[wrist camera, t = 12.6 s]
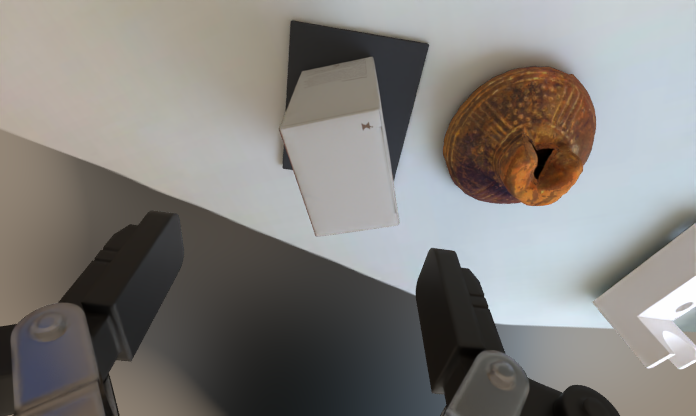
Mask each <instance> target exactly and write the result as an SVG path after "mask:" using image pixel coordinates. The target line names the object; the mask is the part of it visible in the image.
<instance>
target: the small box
mask: <svg viewBox="0 0 696 416" xmlns="http://www.w3.org/2000/svg"><path fill="white" fill-rule="evenodd" d="M279 131H280V133H281V136H282V139H283V142H284V145H285V148H286V151H287V154H288V157H289V159H290V162H291V165H292V168H293V171H294V174H295V177H296V180H297V183H298V186H299V189H300V192H301V195H302V197H303V200H304V203H305V206H306V209H307V212H308V215H309V218H310V221H311V224H312V227H313V230H314V232H315V236H317V237H318V236H327V235H334V234H341V233H348V232H355V231H362V230H369V229H376V228H383V227H391V226H397V225H399V223H400V221H399V215H398V208H397V202H396V195H395V189H394V182H393V176H392V169H391V162H390V155H389V149H388V143H387V137H386V131H385V125H384V120H383V113H382V107H381V100H380V94H379V87H378V81H377V75H376V70H375V64H374V59H373V57H368V58H364V59H359V60H354V61H349V62H344V63H339V64H335V65H330V66H325V67H320V68H316V69H311V70H306V71H302V72H301V75H300V77H299V80H298V82H297V85H296V87H295V90H294V93H293V95H292V97H291V100H290V103H289V105H288V108H287V110H286V113H285V116H284V118H283V121H282V123H281V126H280V128H279Z"/></svg>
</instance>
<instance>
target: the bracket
mask: <svg viewBox="0 0 696 416" xmlns="http://www.w3.org/2000/svg"><path fill="white" fill-rule="evenodd" d="M593 304H594V305H595V306H596V307H597V308H598V310H599V311H600V312H601V313H602V315H603V316H604V317H605V318H606V319H607V321H608V322H609V323H610V324H611V326H612V327H613V328H614V329H615V330H616V332H617V333H618V334H619V335H620V337H621V338H622V339H623V340H624V341H625V343H626V344H627V345H628V346H629V348H630V349H631V350H632V351H633V353H634V354H635V355H636V356H637V357H638V359H639V360H640V361H641V362H642V363H643V365H644V366H645V367H646V368H652V367H654V366H656V365H658V364H659V363H661V362H663V361H665V360H666V359H669V360H670V361H671V362H672V363H673V364H674V365H675V366H676V367H677V368H678V369H683V368H685V367H687V366H689V365H691V364H693V363H694V362H696V346H695V344H694V343H693V342H692V341H691V340H690V339H689V338H688V337H687V336H686V335H685V334H684V333H683V332H682V331H681V330H680V329H679V328H678V327H677V325H676V324H675V323H674V322H673V320H675V319H677V318H678V317H680V316H681V315H683V314H684V313H686V312H688V311H689V310H691V309H692V308H694V307H695V306H696V223H695V224H694V225H692V226H691V227H690V228H688V229H687V230H686V231H684V232H683V233H682V234H680V235H679V236H678V237H677V238H675V239H674V240H673V241H671V242H670V243H669V244H667V245H666V246H665V247H663V248H662V249H661V250H660V251H658V252H657V253H656V254H654V255H653V256H652V257H650V258H649V259H648V260H646V261H645V262H644V263H643V264H641V265H640V266H639V267H637V268H636V269H635V270H633V271H632V272H631V273H630V274H628V275H627V276H626V277H624V278H623V279H622V280H620V281H619V282H618V283H616V284H615V285H614V286H613V287H611V288H610V289H609V290H607V291H606V292H605V293H603V294H602V295H601V296H599V297H598V298H597V299H596V300H594V301H593Z"/></svg>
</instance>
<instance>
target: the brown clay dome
mask: <svg viewBox="0 0 696 416" xmlns="http://www.w3.org/2000/svg"><path fill="white" fill-rule="evenodd" d="M595 130H596V116H595V109H594V106H593V104H592V101H591V99H590V96H589V94H588V92H587V90H586V89H585V88H584V86H583V85H582V84H581V83H580V81H579V80H578V79H577V78H576V77H575V76H574V75H573V74H566V73H564V72H562V71H559V70H557V69H554V68H551V67H526V68H518V69H513V70H510V71H508V72H506V73H504V74H501V75H498V76H496V77H494V78H492V79H490V80H489V81H487V82H486V83H485V84H483V85H482V86H480V87H479V88H478V89H476V90H475V91H474V92H473V93H472V94H471V95H470V97H469V98H468V99H467V100H466V101H465V102H464V103H463V104H462V105H461V106H460V108H459V109H458V111H457V113H456V114H455V116H454V117H453V119H452V121H451V122H450V124H449V127H448V130H447V132H446V135H445V138H444V147H443V155H444V158H445V161H446V165H447V168H448V171H449V174H450V176H451V179H452V180H453V182H454V183H455V184H456V185H457V186H458V187H459V188H460V189H461V190H462V191H463V192H464V193H465V194H467V195H469V196H471V197H473V198H475V199H477V200H480V201H484V202H490V203H499V204H503V203H505V204H510V203H520V202H522V203H524V204H526V205H529V206H544V205H549V204H552V203H554V202H556V201H557V200H558V199H559V198H561V196H562V195H563V194H565V193H567V192H568V190H569V189H570V188H571V187H572V186H573V185H574V184H575V183H576V181H577V179H578V178H579V175H580V174H581V173H582V171H583V165H584V164H585V163H586V161H587V159H588V157H589V155H590V152H591V150H592V145H593V141H594V135H595ZM521 139H522V140H521ZM545 155H546V156H545Z"/></svg>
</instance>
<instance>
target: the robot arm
mask: <svg viewBox="0 0 696 416" xmlns="http://www.w3.org/2000/svg"><path fill="white" fill-rule="evenodd" d="M183 257H184V247H183V240H182V232H181V225H180V219H179V215H178V214H176V213H169V212H161V211H153V210H151V211H149V212H148V213H147V215H146V216H145V217H144V218H143V220H142V221H141V222H140V224H139V225H131V224H130V225H128V226H127V227H125V228H123V229H122V230H120V231H119V232H117V233H115V234H114V235H113V236H112V237H111V239H110V240H109V241H108V242H107V243H106V245H105V246H104V248H103V250H101V251H100V252H99V253H98V254H97V256H96V257H95V260H94V261H92V262H91V263H90V264H89V266H88V267H87V268H86V269H85V271H84V272H83V273H82V274H81V275H80V277H79V278H78V279H77V280H76V282H75V283H74V284H73V285H72V286H71V288H70V289H69V290H68V291H67V292H66V294H65V295H64V296H63V297H62V299H61V300H60V301H59V302H58V303H55V304H50V305H46V306H44V307H41V308H39V309H37V310H35V311H33V312H31V313H29V314H28V315H27V316H25V317H24V318H23V319H22V320H21V321H20V322H18V324H14V325H8V326H1V327H0V416H8V415H12V414H14V415H13V416H119V411H118V408H117V403H116V399H115V395H114V391H113V387H112V383H111V379H110V376H109V371H110V370H111V368H112V366H113V364H114V362H115V361H116V360H121V361H132V359H133V357H134V355H135V353H136V351H137V350H138V348H139V345H140V344H141V342H142V340H143V338H144V336H145V334H146V332H147V331H148V329H149V327H150V325H151V323H152V321H153V319H154V317H155V315H156V314H157V312H158V310H159V308H160V306H161V304H162V302H163V300H164V299H165V297H166V295H167V293H168V291H169V289H170V287H171V285H172V284H173V281H174V280H175V278H176V276H177V274H178V272H179V270H180V268H181V266H182V262H183ZM416 301H417V307H418V313H419V319H420V325H421V331H422V337H423V343H424V349H425V354H426V361H427V367H428V372H429V378H430V385H431V390H432V393H435V394H445V399H446V404H447V405H446V406H445V408H444V410H443V412H442V413H441V415H440V416H620V415H619V413H618V412H617V410H616V409H615V408H614V406H613V405H612V404H611V403H610V402H609V401H608V400H607V399H606V398H605V397H603V396H602V395H601V394H600V393H598V392H597V391H595V390H593V389H591V388H589V387H586V386H582V385H572V386H570V387H568V388H567V389H566V390H565V391H564V392H563V393H562V392H560V391H557V390H555V389H552V388H550V387H547V386H545V385H543V384H540V383H538V382H535V381H533V380H531V379H529V378H528V377H527V375H526V373H525V371H524V370H523V368H522V367H521V366H520V365H519V364H518V363H517V362H516V361H515V360H514V359H513V358H511V357H510V356H508V355H506V354H505V351H504V349H503V346H502V343H501V340H500V337H499V335H498V332H497V329H496V326H495V324H494V321H493V318H492V315H491V312H490V310H489V309H488V304H487V301H486V299H485V298H484V293H483V290H482V287H481V285H480V282H479V280H478V279H477V278H476V277H475V276H474V274H473V273H472V272H471V271H470V269H467V268H461V267H460V263H459V260H458V257H457V254H456V252H455V251H451V250H444V249H436V248H431V249H430V250H429V252H428V254H427V257H426V260H425V262H424V265H423V267H422V270H421V273H420V275H419V278H418V281H417V285H416Z"/></svg>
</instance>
